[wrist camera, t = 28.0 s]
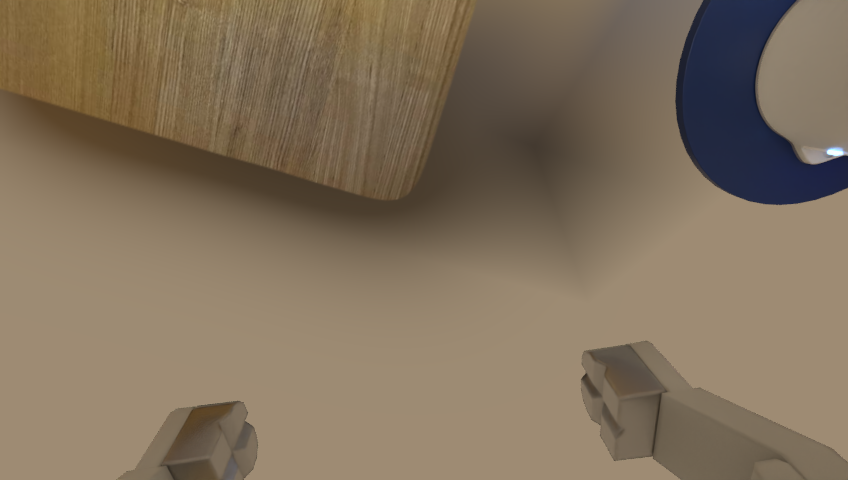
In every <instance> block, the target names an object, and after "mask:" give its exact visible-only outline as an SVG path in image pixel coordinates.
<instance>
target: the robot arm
mask: <svg viewBox="0 0 848 480" xmlns="http://www.w3.org/2000/svg"><path fill="white" fill-rule="evenodd" d="M755 95H756V102H757V106H758V109H759V112H760V114H761V116H762V118H763V120H764V122H765V123H766V124H767V125H768V127H769V128H770V129H771V130H772V131H774V132H775V133H776V134H778V135H780V136H781V137H783V138H784V139H786V140H787V141H788V142H789V143H790V144H791V146H792V148H793V151H794V153H795V155H796V157H797V158H798V160H799V161H801V162H802V163H807V164H819V163H822V162H825V161H828V160H831V159H834V158H838V157H841V156H844V155H847V156H848V0H797V1H796V2H795V3H794V4H793V5H792V6H791V7H790V8H789V9H788V10H787V11H786V13H785V14H784V15H783V16H782V18H781V19H780V20H779V22H778V23H777V25H776V26H775V28H774V29H773V31H772V33H771V34H770V36H769V38H768V40H767V42H766V44H765V46H764V49H763V51H762V54H761V57H760V60H759V64H758V68H757V73H756V81H755ZM582 366H583V367H584V369H585V371H586V374H585V375H584V376H583V377H582V379H581V391H582V396H583V401H584V404H585V407H586V409H587V412H588V414H589V416H590V418H591V420H593V421H594V422H596V423H598V424H599V425H601V431H600V436H601V438H602V440H603V442H604V443H605V445H606V447H607V449H608V451H609V452H610V454H611V456H612V458H613V460H614V461H616V460H626V459H634V458H643V457H651V456H653V459H654V460H656V461H657V462H659V463H660V464H661V465H662V466H664V467H665V468H666V469H668V470H669V471H670V472H672V473H673V474H674V475H676V476H677V477H678V478H680V479H681V480H848V462H847V461H846V460H845V459H843V458H842V457H841V456H840V455H839V454H838V453H837V452H836V451H835V450H833V449H832V448H830V447H828V446H826V445H823V444H821V443H819V442H817V441H815V440H812V439H810V438H808V437H806V436H804V435H802V434H799V433H797V432H795V431H792V430H791V429H788V428H786V427H784V426H782V425H780V424H777V423H775V422H773V421H771V420H769V419H767V418H764V417H762V416H760V415H758V414H756V413H753V412H751V411H749V410H747V409H745V408H743V407H740V406H738V405H736V404H733V403H732V402H730V401H727V400H725V399H723V398H721V397H719V396H717V395H714V394H712V393H710V392H708V391H706V390H703V389H701V388H694V389H693V388H692V387H691V386H690V385H689V384H688V383H687V382H686V380H685V379H684V378H683V377H682V376H681V375H680V374H679V373H678V372H677V370H676V369H675V368H674V367H673V366H672V365H671V364H670V363H669V362H668V361H667V359H666V358H664V356H663V355H662V354H661V353H660V352H659V351H658V350H657V349H656V347H655V346H654V345H653V344H652V343H650V342H648V341H642V342H636V343H630V344H626V345H620V346H613V347H607V348H601V349H594V350H587V351H584V352H583V355H582ZM247 414H248V412H247V409H246V407H245V405H244V403H243V402H241V401H233V402H225V403H217V404H208V405H201V406H197V407H187V408H178V409H175V410H174V411H172V412H171V413H170V414H169V416H168V417H167V419H166V421H165V422H164V424H163V425H162V427H161V428H160V430H159V431H158V433H157V435H156V436H155V438H154V439H153V441H152V443H151V444H150V446H149V447H148V449H147V451H146V452H145V454H144V455H143V457H142V459H141V460H140V462H139V463H138V465H137V466H136V468H135V470H132V471H127V472H126V473H124V474H123V475H122V476H120V477H119V478H118V479H117V480H244V478H245V477H246V476H247V475H248V474H249V473H250V472H251V471H252V470H253V468H254V465H255V461H256V459H257V449H258V442H257V435H256V432H255V429H254V427H253V426H252V425H250V424H249V423H247V422H246V421H245V419H246V417H247Z"/></svg>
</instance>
